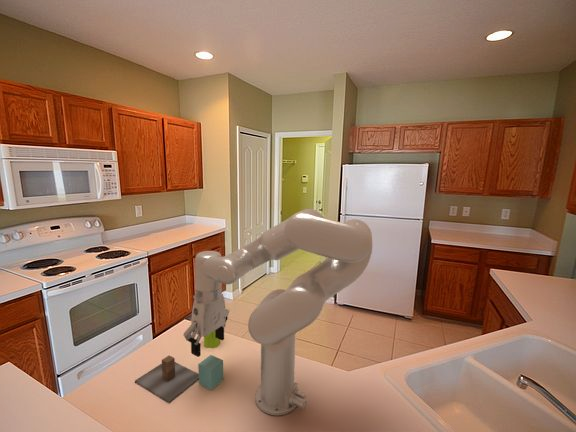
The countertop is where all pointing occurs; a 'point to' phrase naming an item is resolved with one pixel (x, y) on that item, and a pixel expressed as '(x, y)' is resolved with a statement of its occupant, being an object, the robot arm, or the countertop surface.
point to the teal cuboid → (210, 372)
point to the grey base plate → (168, 379)
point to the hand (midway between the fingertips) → (208, 346)
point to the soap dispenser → (211, 340)
